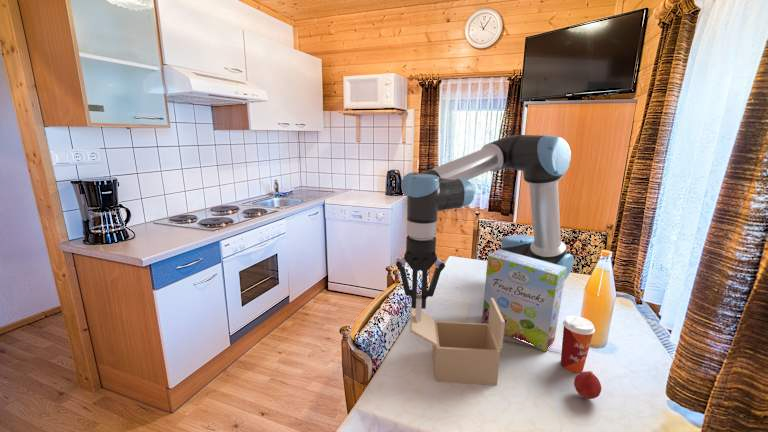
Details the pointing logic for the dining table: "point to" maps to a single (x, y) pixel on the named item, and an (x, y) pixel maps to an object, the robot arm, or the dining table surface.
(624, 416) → the dining table surface
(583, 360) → the paper cup
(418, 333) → the flap
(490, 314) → the flap
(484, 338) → the carton
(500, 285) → the snack box
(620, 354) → the dining table surface
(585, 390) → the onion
